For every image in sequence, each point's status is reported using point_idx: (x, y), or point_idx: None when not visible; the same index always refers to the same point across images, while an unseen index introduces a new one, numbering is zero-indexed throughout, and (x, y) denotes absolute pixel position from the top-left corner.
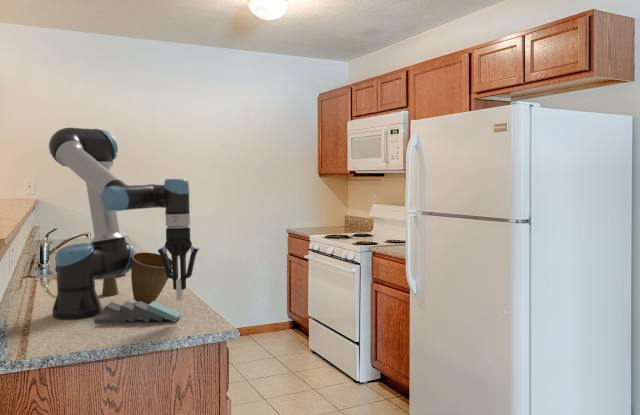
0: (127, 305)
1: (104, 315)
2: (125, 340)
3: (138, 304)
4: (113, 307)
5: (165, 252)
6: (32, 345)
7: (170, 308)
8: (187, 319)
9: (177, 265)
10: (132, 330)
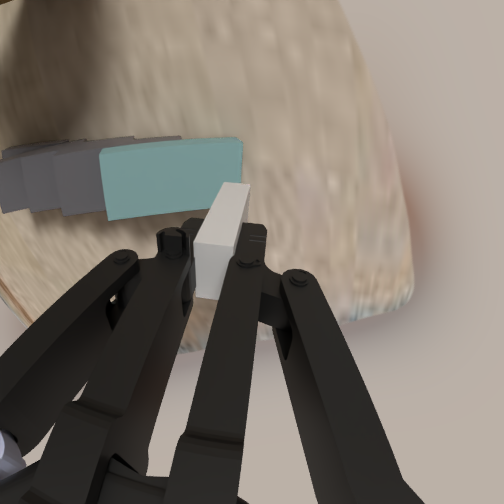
0: (39, 192)
1: (8, 152)
2: None
3: (67, 196)
4: (16, 198)
5: (17, 455)
6: (26, 308)
7: (188, 147)
8: (275, 163)
9: (157, 350)
10: None
